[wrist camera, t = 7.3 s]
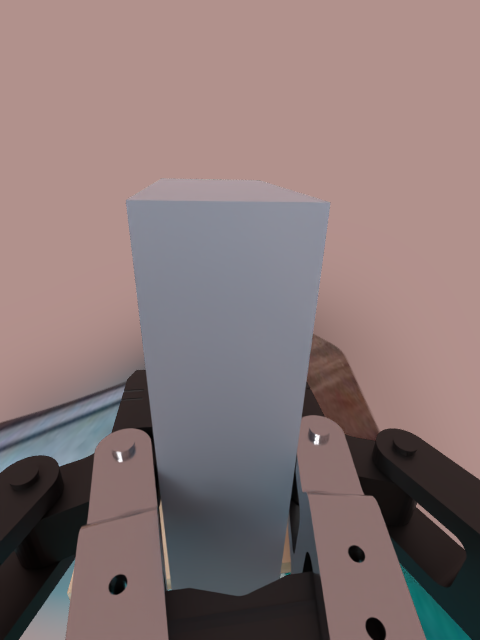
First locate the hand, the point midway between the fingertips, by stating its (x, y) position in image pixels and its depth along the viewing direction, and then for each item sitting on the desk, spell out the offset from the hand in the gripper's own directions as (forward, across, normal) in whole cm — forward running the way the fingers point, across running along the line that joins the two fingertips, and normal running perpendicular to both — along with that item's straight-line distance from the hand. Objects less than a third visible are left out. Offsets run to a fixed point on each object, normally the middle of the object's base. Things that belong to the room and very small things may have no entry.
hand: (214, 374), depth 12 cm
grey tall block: (-2, 0, +8) cm, 9 cm away
